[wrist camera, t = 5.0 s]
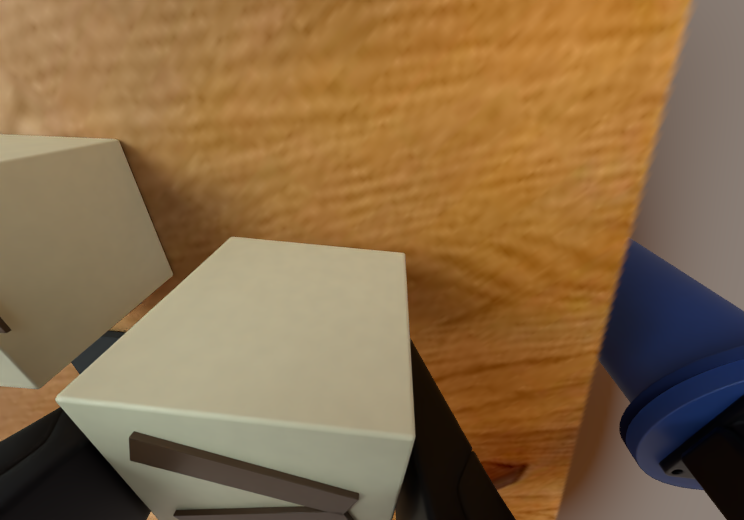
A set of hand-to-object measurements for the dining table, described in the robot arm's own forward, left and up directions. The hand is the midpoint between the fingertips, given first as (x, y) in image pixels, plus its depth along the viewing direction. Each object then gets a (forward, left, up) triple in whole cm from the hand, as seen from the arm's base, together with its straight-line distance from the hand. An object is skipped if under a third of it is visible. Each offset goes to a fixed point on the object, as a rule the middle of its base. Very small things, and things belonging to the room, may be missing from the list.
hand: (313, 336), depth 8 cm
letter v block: (0, 0, -1) cm, 1 cm away
